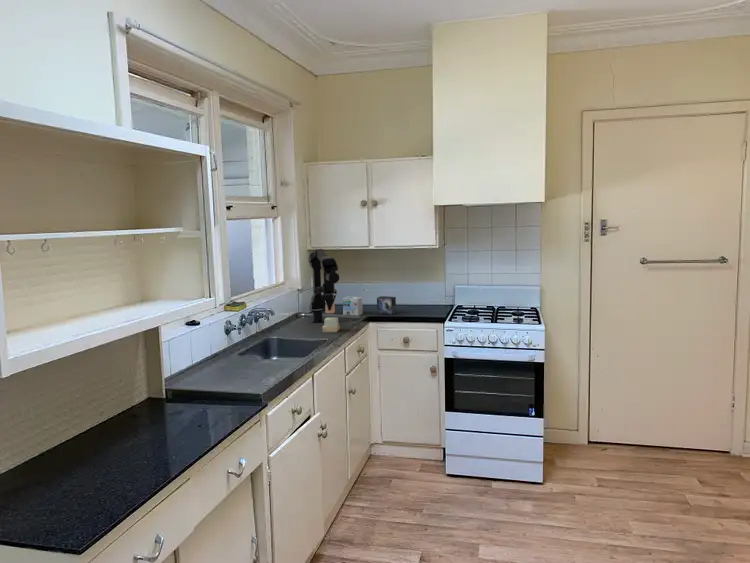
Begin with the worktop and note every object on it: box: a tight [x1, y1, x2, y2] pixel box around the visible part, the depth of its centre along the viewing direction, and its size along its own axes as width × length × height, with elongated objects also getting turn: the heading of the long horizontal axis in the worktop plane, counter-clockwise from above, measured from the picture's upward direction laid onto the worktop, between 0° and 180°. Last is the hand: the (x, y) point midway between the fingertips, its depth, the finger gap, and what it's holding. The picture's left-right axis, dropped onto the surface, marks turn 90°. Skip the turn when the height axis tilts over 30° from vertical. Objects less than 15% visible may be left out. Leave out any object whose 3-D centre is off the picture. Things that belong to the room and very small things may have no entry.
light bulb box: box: [342, 296, 364, 316], centre depth 350 cm, size 11×7×11 cm, turn 68°
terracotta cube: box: [324, 302, 336, 314], centre depth 305 cm, size 4×4×4 cm
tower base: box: [321, 322, 340, 333], centre depth 306 cm, size 8×8×4 cm
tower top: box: [323, 317, 339, 326], centre depth 306 cm, size 6×6×4 cm
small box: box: [376, 295, 397, 316], centre depth 349 cm, size 11×6×10 cm, turn 62°
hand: (330, 309), depth 305 cm, fingers closed on terracotta cube, 4 cm apart
